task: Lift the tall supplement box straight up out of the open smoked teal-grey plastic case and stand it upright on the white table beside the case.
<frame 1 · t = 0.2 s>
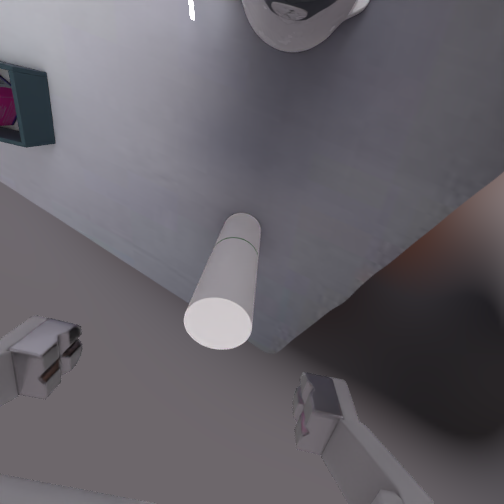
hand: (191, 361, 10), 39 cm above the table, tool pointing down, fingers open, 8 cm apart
supplement box: (4, 98, 42), resting in case
case: (3, 98, 42), on the table
cylindrical container: (242, 230, 50), on the table
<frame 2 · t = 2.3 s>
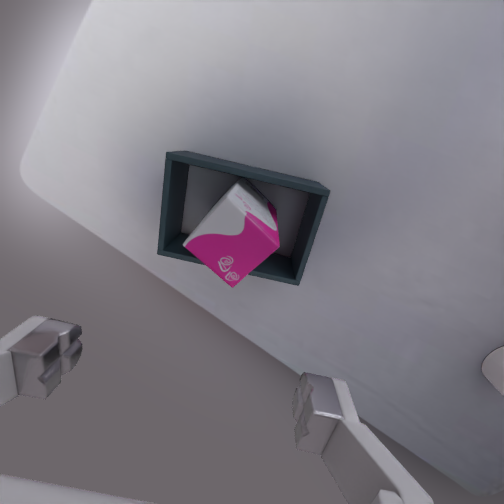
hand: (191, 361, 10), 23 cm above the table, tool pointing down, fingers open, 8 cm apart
supplement box: (243, 210, 31), resting in case
case: (243, 210, 31), on the table
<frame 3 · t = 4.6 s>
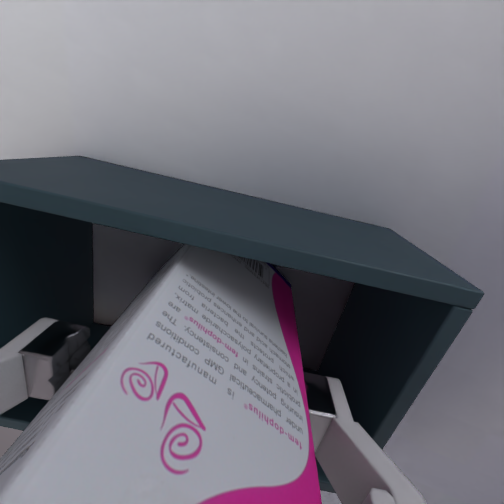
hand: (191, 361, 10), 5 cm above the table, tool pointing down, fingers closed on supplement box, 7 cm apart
supplement box: (220, 282, 15), resting in case, touching gripper
case: (219, 284, 14), on the table
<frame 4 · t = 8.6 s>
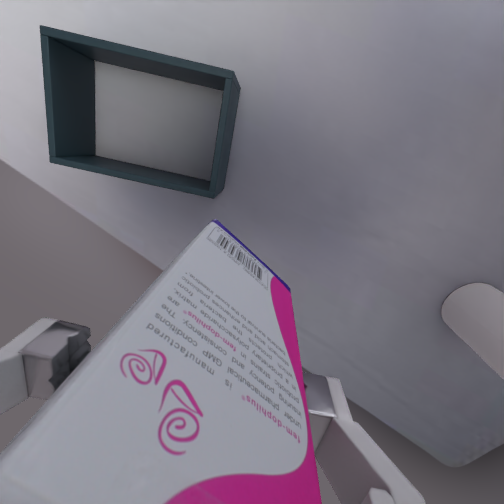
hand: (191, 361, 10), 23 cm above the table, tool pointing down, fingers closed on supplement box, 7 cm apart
supplement box: (219, 287, 15), point 17 cm above the table, touching gripper
case: (161, 125, 28), on the table
cylindrical container: (469, 306, 34), on the table
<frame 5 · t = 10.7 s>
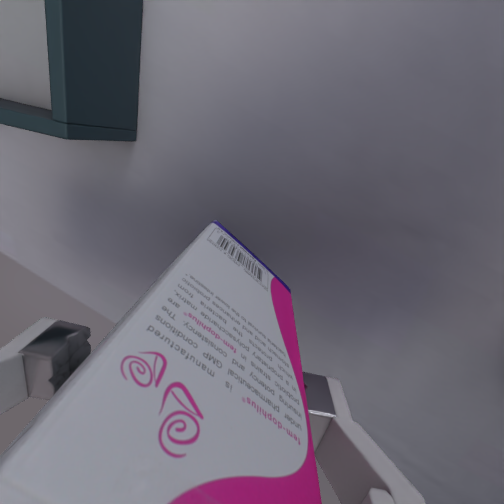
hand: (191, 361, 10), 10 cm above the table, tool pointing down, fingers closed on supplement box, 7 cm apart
supplement box: (220, 288, 15), point 4 cm above the table, touching gripper
when the fingers open (5 cm above the table, at t = 12.5 s): supplement box stays where it is, on the table.
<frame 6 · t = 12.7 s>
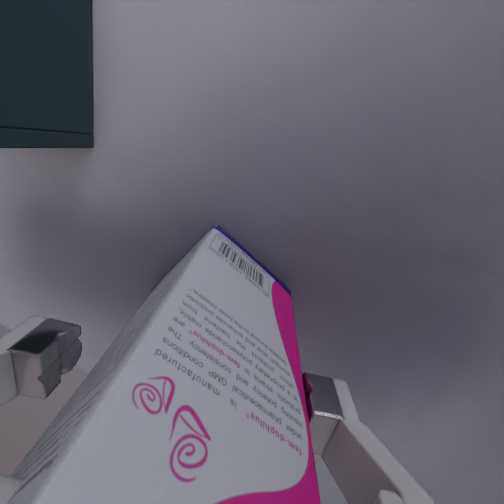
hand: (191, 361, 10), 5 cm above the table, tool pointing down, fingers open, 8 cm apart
supplement box: (221, 290, 15), on the table, touching gripper
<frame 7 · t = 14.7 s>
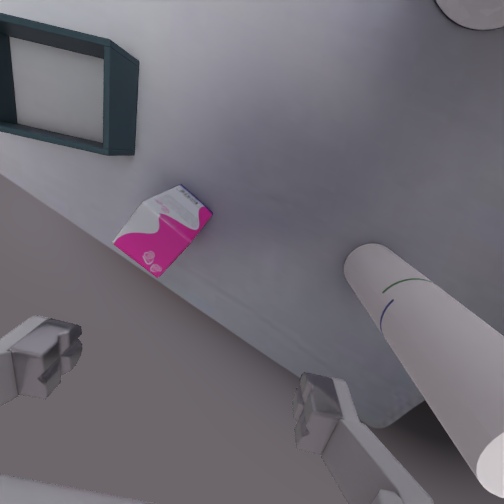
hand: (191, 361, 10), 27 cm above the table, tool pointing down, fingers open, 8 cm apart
supplement box: (184, 214, 36), on the table
case: (73, 96, 31), on the table
cylindrical container: (368, 266, 37), on the table
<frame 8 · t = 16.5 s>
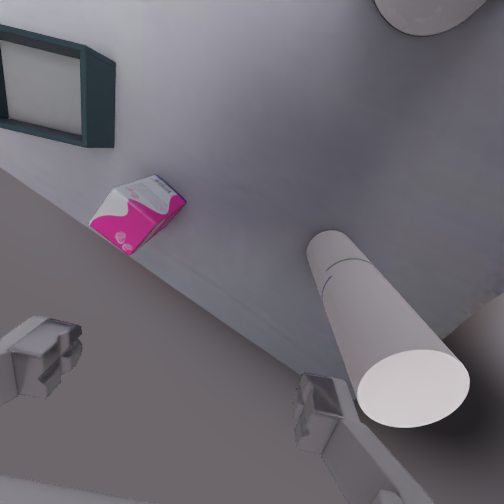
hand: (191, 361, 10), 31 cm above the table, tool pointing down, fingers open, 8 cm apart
supplement box: (161, 202, 39), on the table
case: (57, 93, 34), on the table
cylindrical container: (329, 251, 41), on the table
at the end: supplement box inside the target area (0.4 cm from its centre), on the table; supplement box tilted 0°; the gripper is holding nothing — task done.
